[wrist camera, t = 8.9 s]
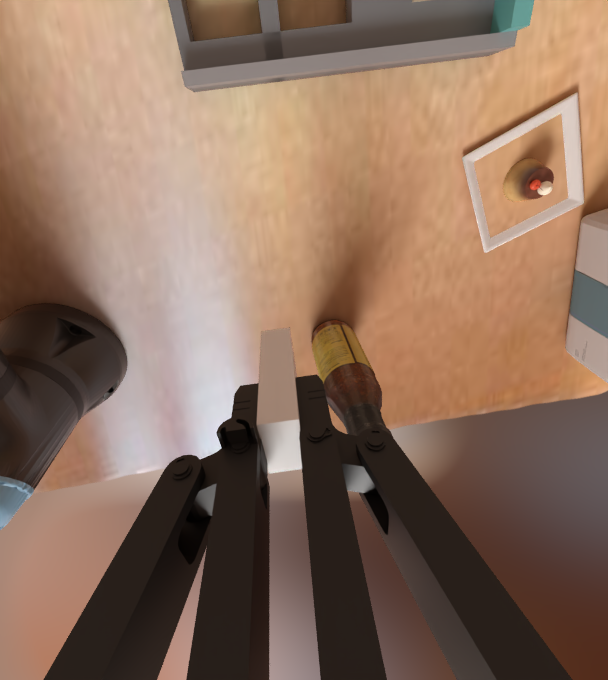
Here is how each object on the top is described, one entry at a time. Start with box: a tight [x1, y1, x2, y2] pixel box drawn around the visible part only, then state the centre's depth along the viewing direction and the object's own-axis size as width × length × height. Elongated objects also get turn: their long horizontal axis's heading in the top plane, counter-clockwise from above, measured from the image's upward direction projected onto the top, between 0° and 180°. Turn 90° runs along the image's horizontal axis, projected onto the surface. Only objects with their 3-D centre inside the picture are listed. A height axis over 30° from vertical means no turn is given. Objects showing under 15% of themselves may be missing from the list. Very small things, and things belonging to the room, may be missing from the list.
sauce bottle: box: [312, 320, 393, 437], centre depth 38 cm, size 7×6×20 cm
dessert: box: [462, 92, 584, 253], centre depth 36 cm, size 12×12×5 cm
